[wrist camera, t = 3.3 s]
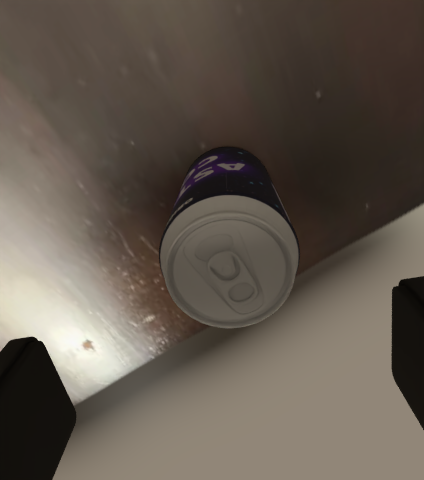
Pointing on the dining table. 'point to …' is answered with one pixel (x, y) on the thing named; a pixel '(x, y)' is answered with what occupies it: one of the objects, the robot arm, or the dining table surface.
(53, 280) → the dining table surface
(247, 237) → the beverage can
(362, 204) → the dining table surface
